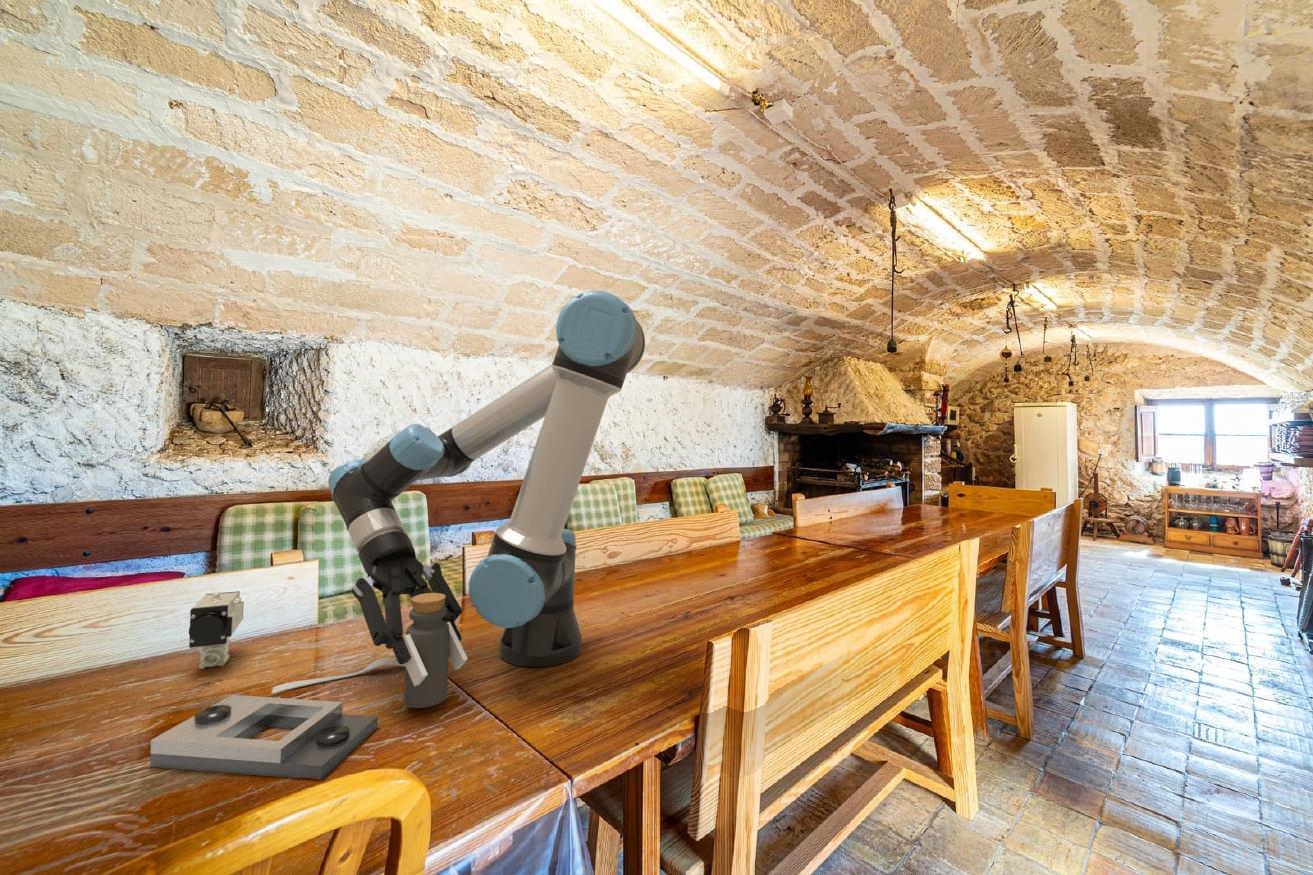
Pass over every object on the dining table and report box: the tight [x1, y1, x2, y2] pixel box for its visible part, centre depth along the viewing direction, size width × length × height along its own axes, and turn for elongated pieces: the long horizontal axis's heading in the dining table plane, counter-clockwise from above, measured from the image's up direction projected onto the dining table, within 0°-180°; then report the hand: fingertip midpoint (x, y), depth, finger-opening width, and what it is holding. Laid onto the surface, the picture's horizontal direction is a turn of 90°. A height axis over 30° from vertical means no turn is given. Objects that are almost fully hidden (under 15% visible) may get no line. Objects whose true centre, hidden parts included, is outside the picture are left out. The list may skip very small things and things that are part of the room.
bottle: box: [403, 593, 449, 709], centre depth 78 cm, size 6×6×15 cm
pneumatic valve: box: [188, 590, 244, 670], centre depth 90 cm, size 6×12×12 cm, turn 28°
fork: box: [271, 657, 405, 694], centre depth 87 cm, size 3×21×3 cm, turn 120°
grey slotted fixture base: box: [149, 694, 379, 781], centre depth 67 cm, size 21×11×4 cm, turn 86°
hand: (441, 672), depth 76 cm, fingers closed on bottle, 6 cm apart
